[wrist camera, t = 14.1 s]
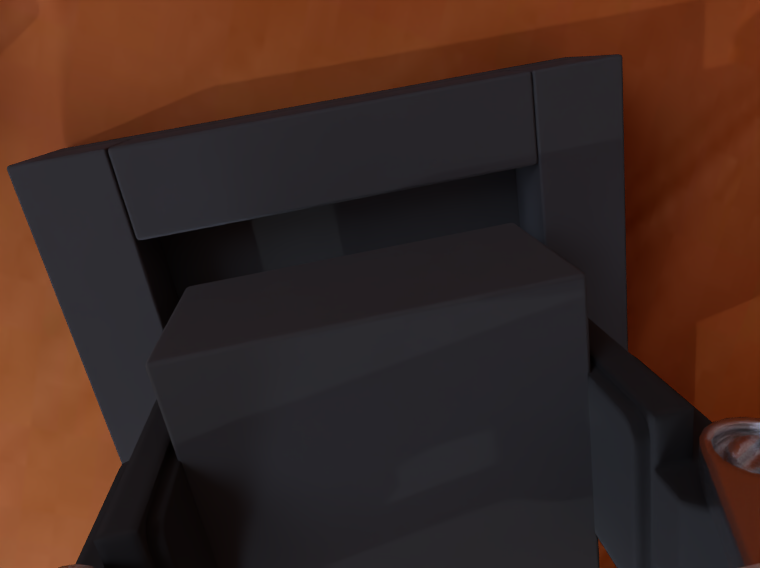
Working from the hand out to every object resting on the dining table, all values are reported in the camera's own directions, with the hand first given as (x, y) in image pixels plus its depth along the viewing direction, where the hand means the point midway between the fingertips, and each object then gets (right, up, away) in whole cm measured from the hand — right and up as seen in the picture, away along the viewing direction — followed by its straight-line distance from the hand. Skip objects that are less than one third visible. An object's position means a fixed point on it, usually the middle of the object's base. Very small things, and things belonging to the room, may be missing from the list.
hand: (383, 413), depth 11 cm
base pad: (0, +1, +4) cm, 4 cm away
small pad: (0, 0, +1) cm, 1 cm away
